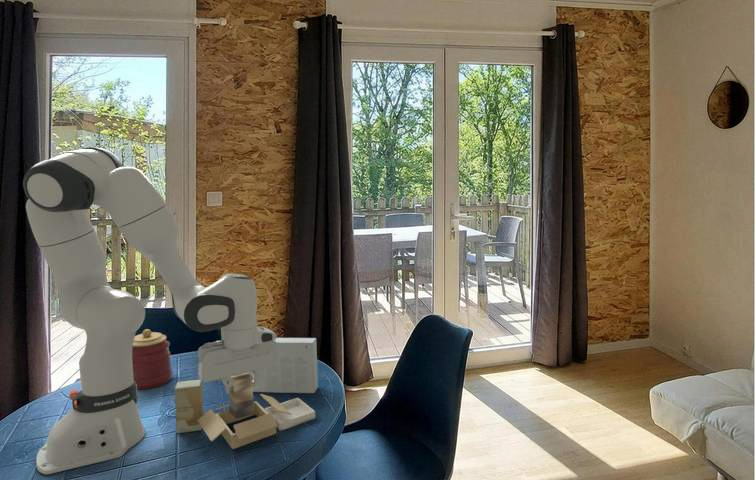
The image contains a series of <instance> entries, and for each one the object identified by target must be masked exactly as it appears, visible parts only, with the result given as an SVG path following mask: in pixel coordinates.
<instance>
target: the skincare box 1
mask: <svg viewBox="0 0 755 480" xmlns="http://www.w3.org/2000/svg"><path fill="white" fill-rule="evenodd" d="M203 398H204V397H203V381H202V380H201V379H194V380H185V381H184V380H183V381H177V382H176V384H175V386H174V403H175V425H176V426H175V427H176V430H175V431H176V433H177V434H181V433H190V432H197V431H203V428H202V427H201V425H200V424H199V422H198V421H197V420H198V419H200V418H201V417H202V416H203V415H204V402H203V401H204V400H203Z"/></svg>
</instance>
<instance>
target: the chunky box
mask: <svg viewBox="0 0 755 480" xmlns="http://www.w3.org/2000/svg"><path fill="white" fill-rule="evenodd" d="M228 384H232V385H233V387H234V389H233V390H234V392H233V393H229V394H228V395H229V400H228V401H229V402H228V404H229V403H230V406H229V409H230V413H231V414H232V415H233V416H234V418H235V419H238V418H242V417H245V416H248V415H251V414H253V402H254V398H253V396H254V392H253V377H252V376H251V375H250V374H249V373H244V374H239V375H235V376H231V377H229V381H228Z"/></svg>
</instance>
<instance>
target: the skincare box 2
mask: <svg viewBox="0 0 755 480" xmlns="http://www.w3.org/2000/svg"><path fill="white" fill-rule="evenodd" d="M274 341H276V342H277V344H278V347H279V355H280V361H279V363H278V364H277V366H273V367H269V368H264V369H260V375H259V377H258V378H257V380H256V387H253V393H280V394H281V393H283V394H285V393H287V394H315V393H316V392H317V390H318V388H319V377H318V354H317V353H318V351H317V350H318V349H317V337H276V340H274ZM248 373H249V374H250V375H251V376H252V375H253V372H248Z"/></svg>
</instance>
